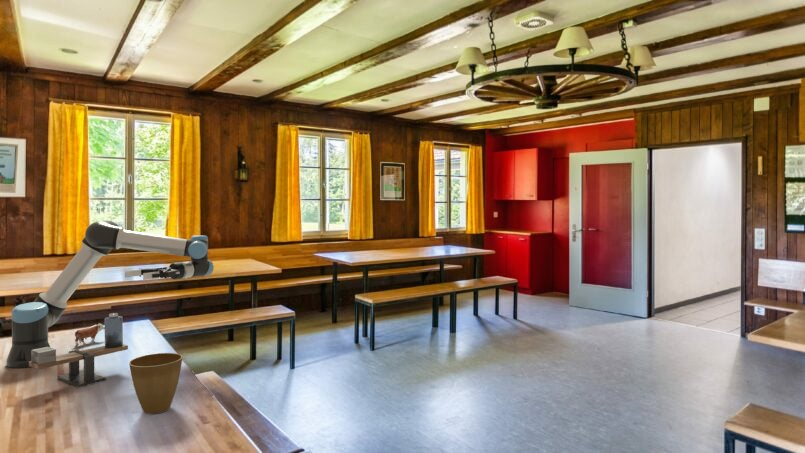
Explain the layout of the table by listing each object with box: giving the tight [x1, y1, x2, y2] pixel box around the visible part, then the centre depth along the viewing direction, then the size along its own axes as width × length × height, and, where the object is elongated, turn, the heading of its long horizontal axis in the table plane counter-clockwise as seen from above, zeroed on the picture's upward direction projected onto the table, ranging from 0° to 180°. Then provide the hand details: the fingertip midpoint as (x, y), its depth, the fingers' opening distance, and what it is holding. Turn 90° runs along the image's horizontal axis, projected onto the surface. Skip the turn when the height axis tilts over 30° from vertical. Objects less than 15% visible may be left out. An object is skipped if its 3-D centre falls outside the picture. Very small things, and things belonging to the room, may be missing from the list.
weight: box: [103, 312, 124, 348], centre depth 188 cm, size 6×6×12 cm
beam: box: [29, 343, 129, 371], centre depth 179 cm, size 9×30×6 cm, turn 148°
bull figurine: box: [74, 323, 105, 346], centre depth 228 cm, size 4×13×8 cm, turn 155°
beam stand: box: [56, 349, 107, 388], centre depth 179 cm, size 16×9×10 cm, turn 58°
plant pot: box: [128, 352, 183, 415], centre depth 153 cm, size 15×15×16 cm
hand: (134, 275), depth 205 cm, fingers open, 13 cm apart
